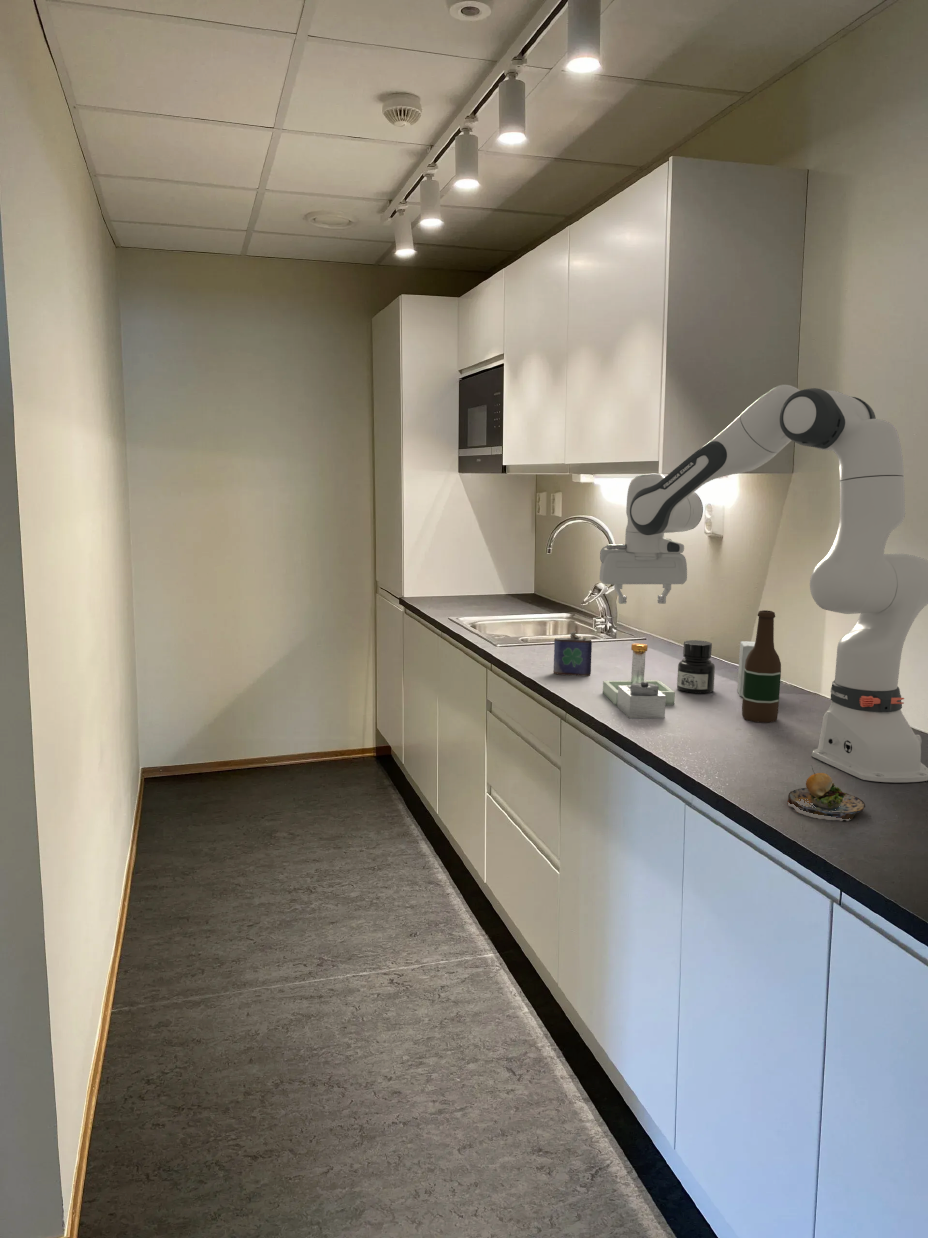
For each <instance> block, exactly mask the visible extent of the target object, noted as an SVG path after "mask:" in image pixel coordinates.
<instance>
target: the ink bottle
mask: <svg viewBox="0 0 928 1238" xmlns="http://www.w3.org/2000/svg"><path fill="white" fill-rule="evenodd" d="M712 647H713V643H712V642H711V641H706V640H696V639H694V640H693V639H692V640H684V641H683V652H682V654H683V655H682V656H683V658H682V660H680V661H679V662H678V665H677V676H676V677H677V678H676V680H677V681H676V688H677V690H679V691H681V692H684V693H689V694H690V693H691V694H708V693H711V692H713V691H714V690H715V689H714V688H715V674H716V672H715V671H716V666H715V664H714V662H712V660H711V658H712V651H713V650H712Z"/></svg>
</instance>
